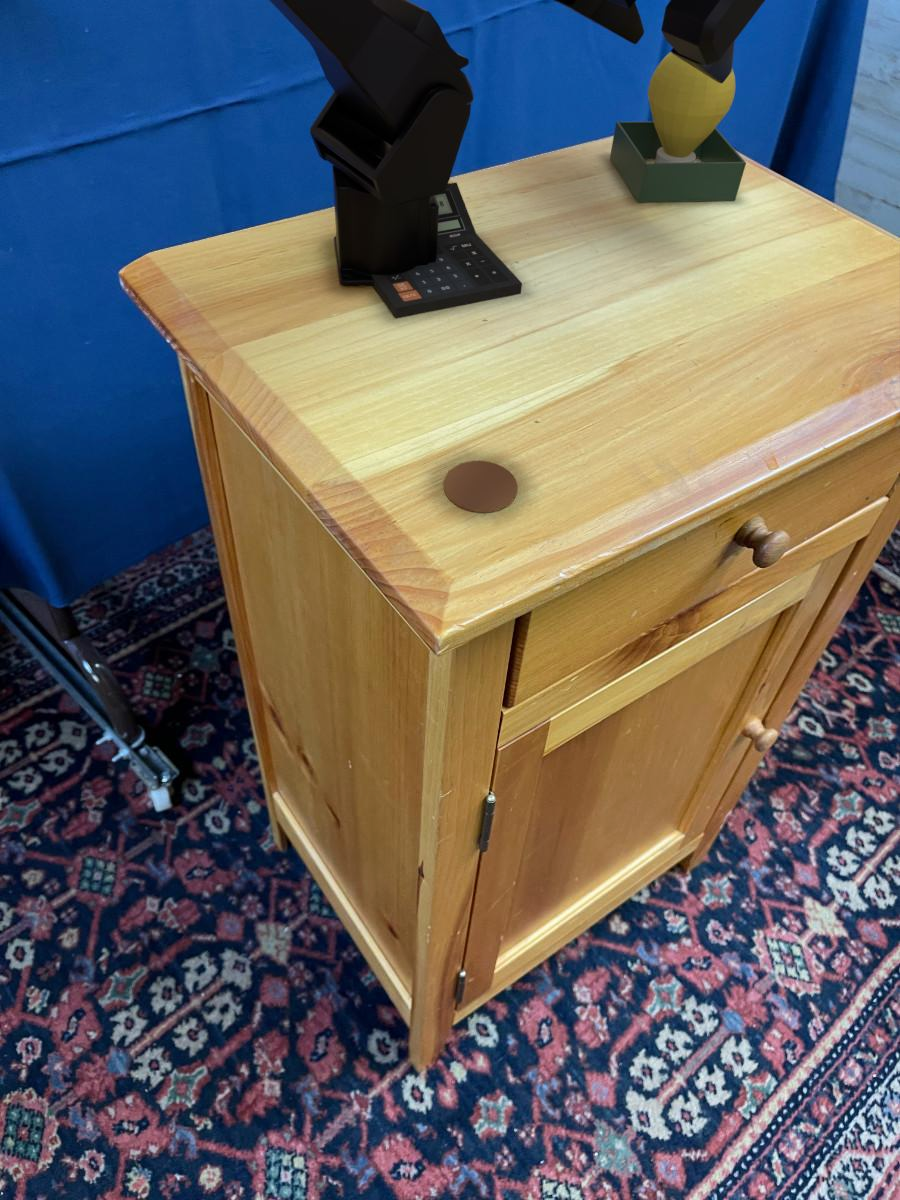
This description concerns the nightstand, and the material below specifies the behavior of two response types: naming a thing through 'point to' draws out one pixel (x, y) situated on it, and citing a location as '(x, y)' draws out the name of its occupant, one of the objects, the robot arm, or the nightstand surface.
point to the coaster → (480, 486)
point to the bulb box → (675, 167)
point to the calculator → (449, 268)
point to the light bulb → (686, 107)
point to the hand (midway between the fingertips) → (680, 56)
